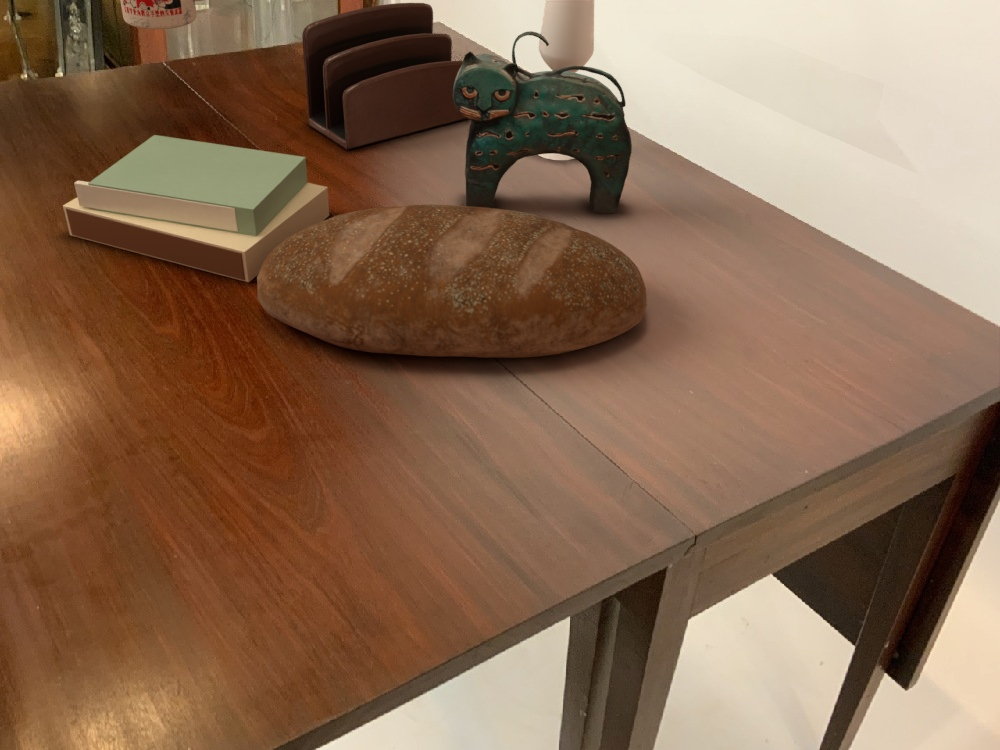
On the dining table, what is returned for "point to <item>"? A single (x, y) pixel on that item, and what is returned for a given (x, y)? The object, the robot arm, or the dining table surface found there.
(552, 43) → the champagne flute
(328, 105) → the letter holder
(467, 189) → the ceramic cat
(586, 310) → the bread
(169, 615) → the dining table surface
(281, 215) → the book stack
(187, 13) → the teacup with lid
